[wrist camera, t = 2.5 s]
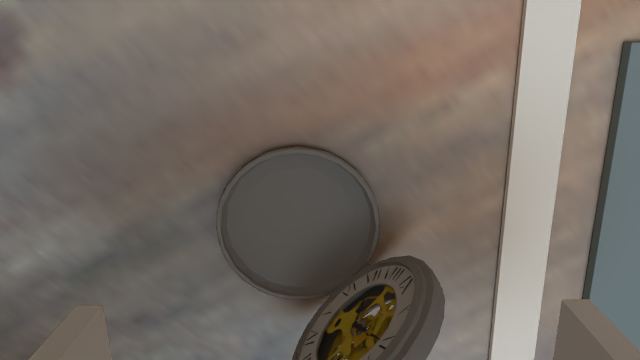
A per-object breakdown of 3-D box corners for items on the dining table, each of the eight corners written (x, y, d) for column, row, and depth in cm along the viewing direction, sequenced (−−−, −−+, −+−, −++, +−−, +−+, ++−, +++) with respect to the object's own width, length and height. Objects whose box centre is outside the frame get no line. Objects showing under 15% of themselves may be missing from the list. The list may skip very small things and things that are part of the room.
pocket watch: (238, 125, 19) (165, 220, 10) (437, 175, 20) (548, 309, 11) (201, 300, 22) (112, 512, 12) (380, 339, 23) (429, 569, 13)
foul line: (480, 439, 24) (482, 444, 24) (528, -42, 18) (531, -43, 17) (520, 438, 24) (522, 443, 24) (582, -43, 18) (587, -44, 17)
